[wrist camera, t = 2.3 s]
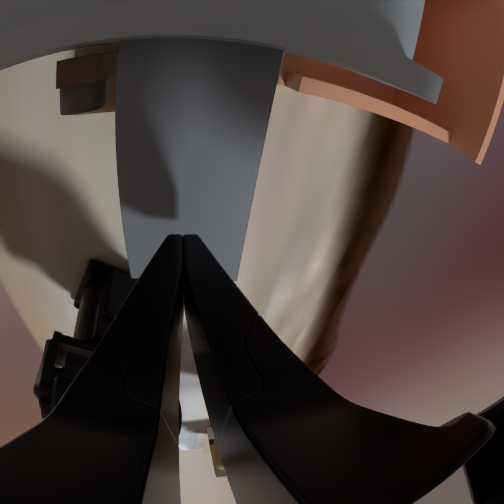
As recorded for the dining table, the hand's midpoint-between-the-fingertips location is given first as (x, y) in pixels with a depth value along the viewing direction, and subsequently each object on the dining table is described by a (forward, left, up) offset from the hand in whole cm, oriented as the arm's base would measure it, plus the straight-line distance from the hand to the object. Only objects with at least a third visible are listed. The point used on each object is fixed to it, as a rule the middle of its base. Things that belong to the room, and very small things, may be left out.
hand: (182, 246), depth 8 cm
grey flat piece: (+3, +7, -2) cm, 7 cm away
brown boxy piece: (+12, -2, -9) cm, 15 cm away
